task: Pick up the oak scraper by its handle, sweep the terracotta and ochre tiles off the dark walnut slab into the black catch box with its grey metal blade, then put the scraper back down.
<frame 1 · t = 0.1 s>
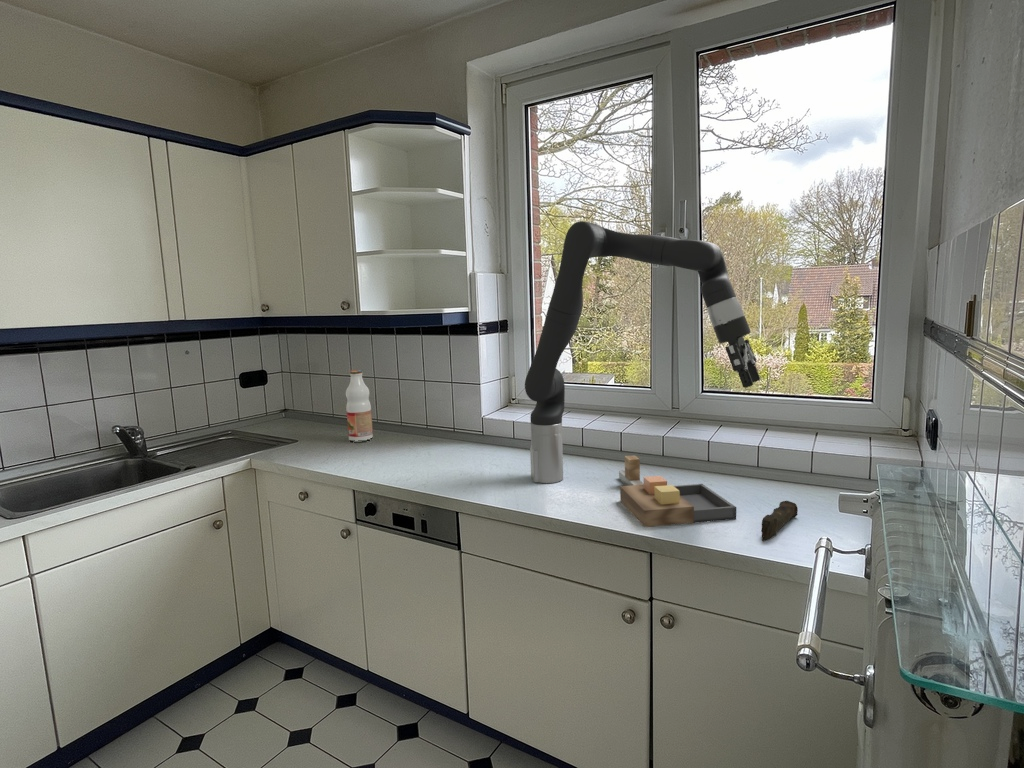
hand: (752, 384, 138), 31 cm above the worktop, tool tilted 20°, fingers open, 8 cm apart
ochre tile: (666, 494, 139), point 5 cm above the worktop, touching walnut slab
catch box: (698, 507, 145), on the worktop
oak scraper: (632, 486, 164), on the worktop
terracotta tile: (655, 484, 147), point 5 cm above the worktop, touching walnut slab
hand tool: (779, 530, 131), on the worktop
walnut slab: (655, 511, 144), on the worktop
fruit juice: (361, 440, 231), on the worktop
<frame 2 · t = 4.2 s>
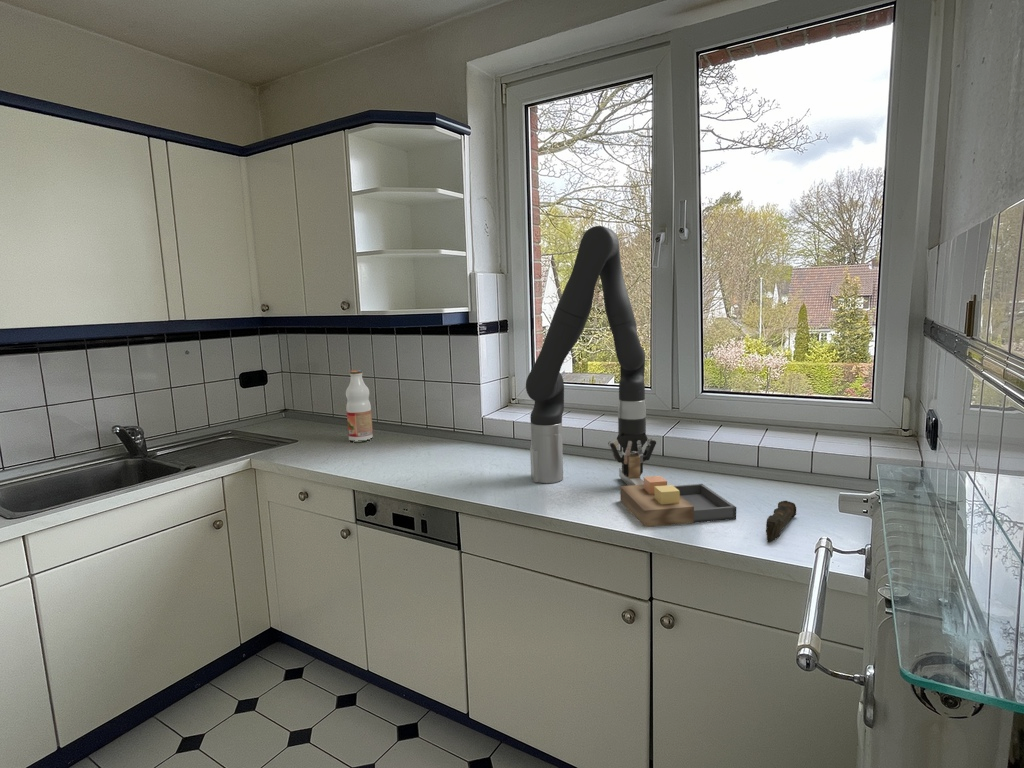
hand: (632, 475, 163), 3 cm above the worktop, tool pointing down, fingers closed on oak scraper, 3 cm apart
oak scraper: (632, 484, 163), on the worktop, touching gripper
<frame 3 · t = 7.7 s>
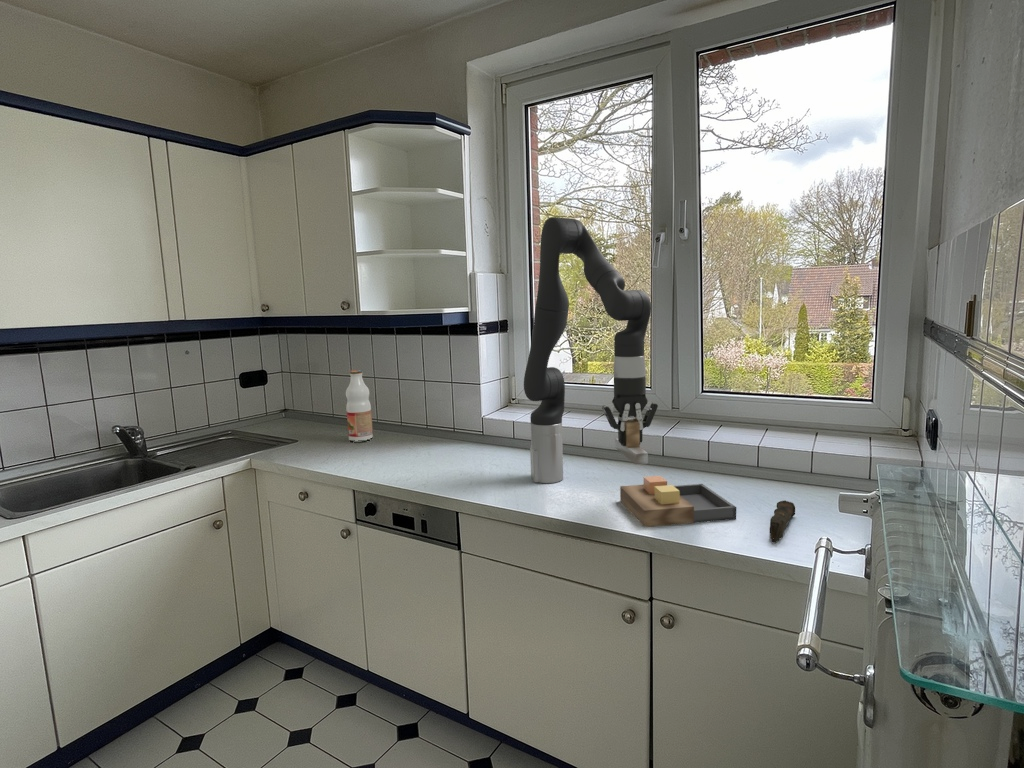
hand: (630, 444, 141), 17 cm above the worktop, tool pointing down, fingers closed on oak scraper, 3 cm apart
oak scraper: (630, 455, 141), point 15 cm above the worktop, touching gripper
everything else where it was.
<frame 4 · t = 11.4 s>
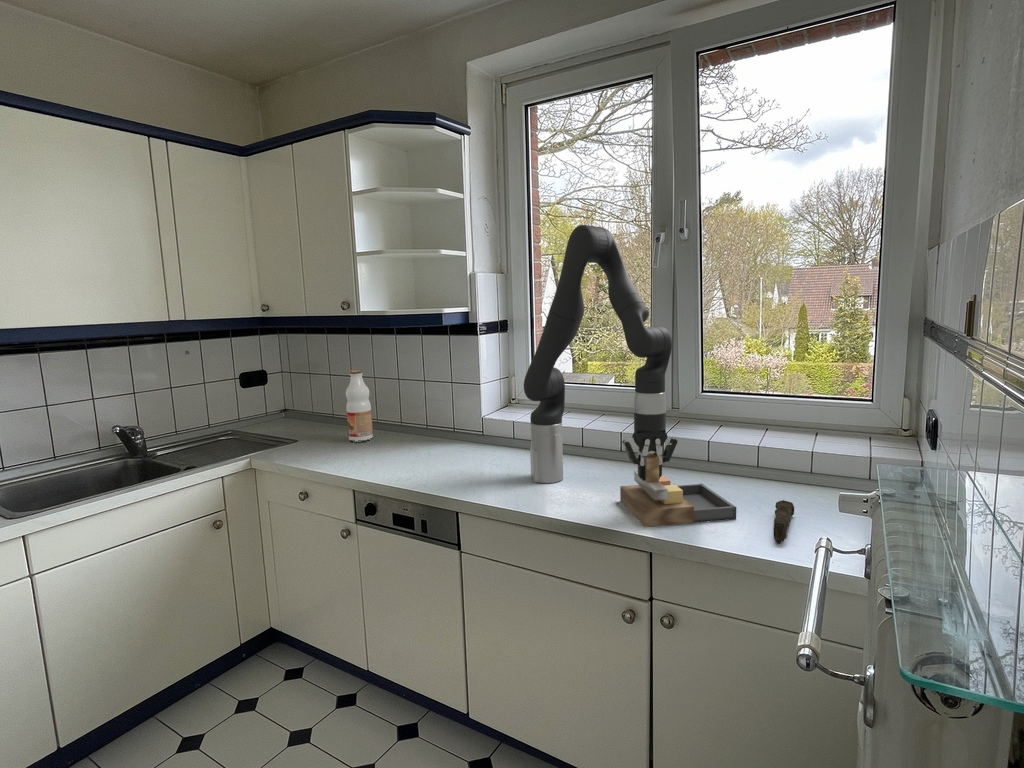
hand: (649, 478, 142), 9 cm above the worktop, tool pointing down, fingers closed on oak scraper, 3 cm apart
oak scraper: (650, 489, 142), point 6 cm above the worktop, touching gripper, terracotta tile
terracotta tile: (658, 484, 147), point 6 cm above the worktop, touching oak scraper, walnut slab
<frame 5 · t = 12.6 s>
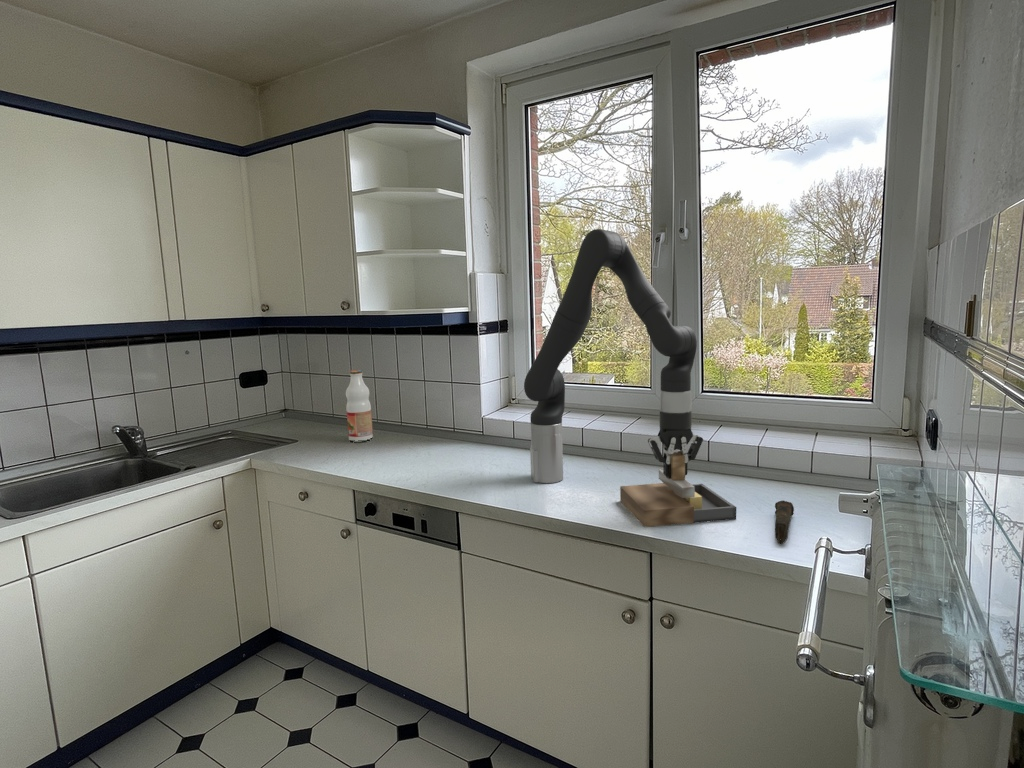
hand: (675, 476, 143), 8 cm above the worktop, tool pointing down, fingers closed on oak scraper, 3 cm apart
ochre tile: (692, 503, 141), point 3 cm above the worktop, tilted 90°, touching catch box
oak scraper: (675, 487, 143), point 6 cm above the worktop, touching gripper
terracotta tile: (679, 492, 148), point 3 cm above the worktop, tilted 90°, touching catch box
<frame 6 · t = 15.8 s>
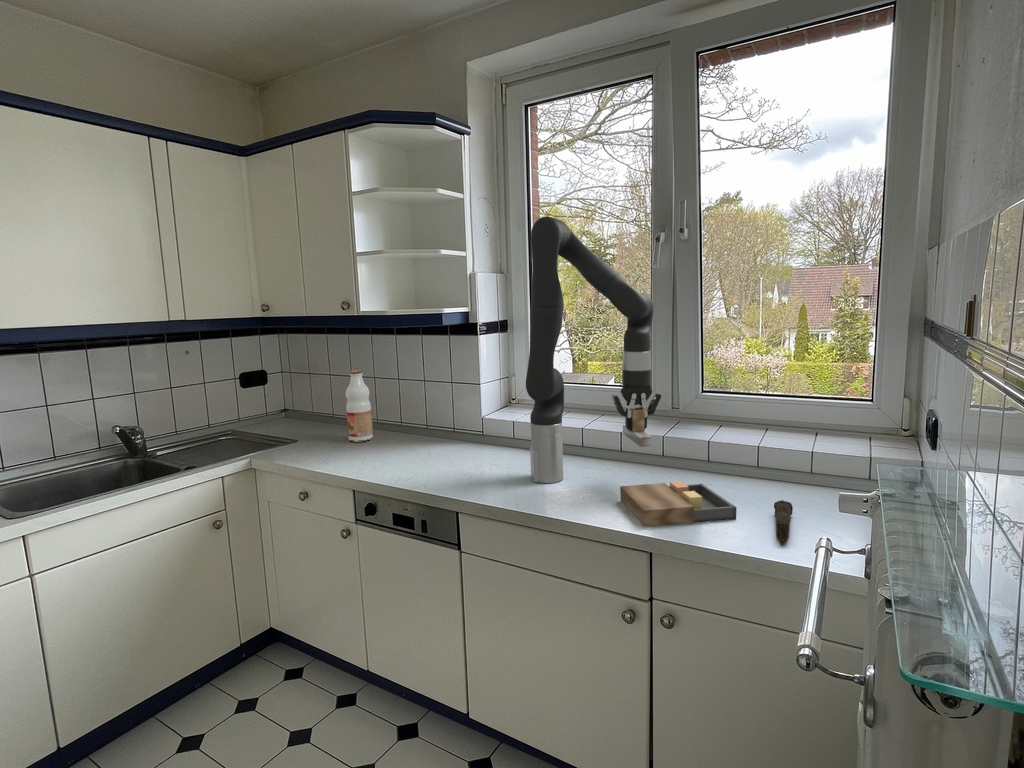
hand: (635, 429, 159), 17 cm above the worktop, tool pointing down, fingers closed on oak scraper, 3 cm apart
oak scraper: (636, 439, 159), point 14 cm above the worktop, touching gripper
when the fingers open (4 cm above the worktop, at t = 18.9 s): oak scraper drops 2 cm, on the worktop.
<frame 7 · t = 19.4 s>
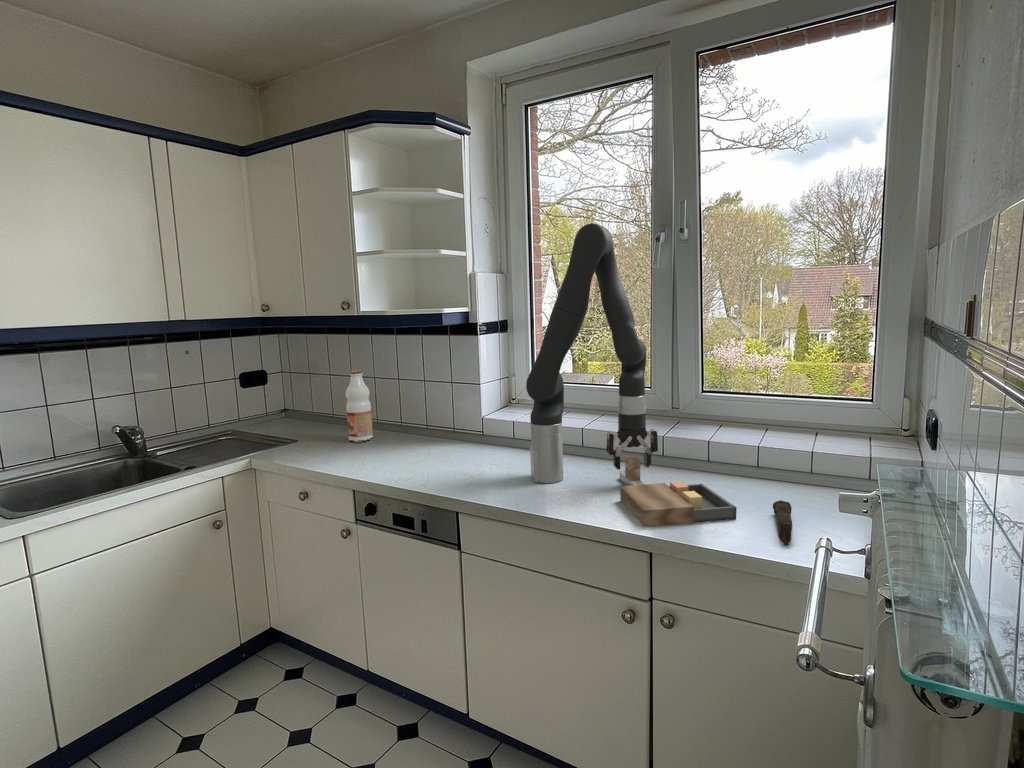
hand: (632, 467, 163), 5 cm above the worktop, tool pointing down, fingers open, 8 cm apart
oak scraper: (632, 487, 163), on the worktop
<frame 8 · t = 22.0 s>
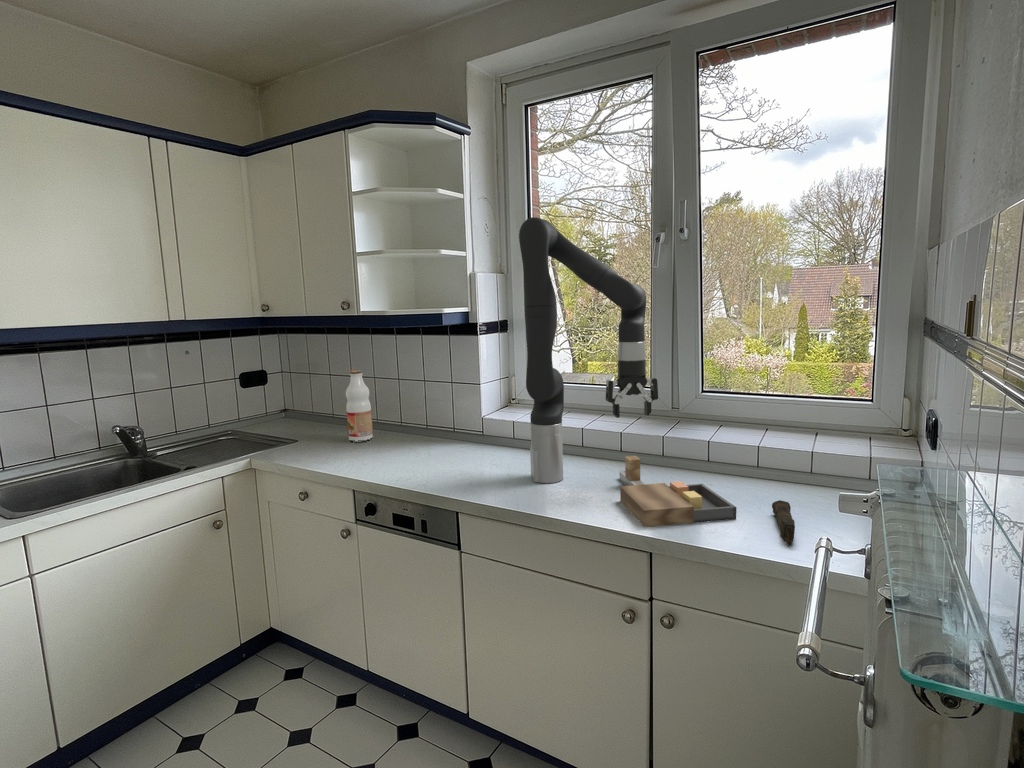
hand: (631, 416, 161), 20 cm above the worktop, tool pointing down, fingers open, 8 cm apart
at the end: terracotta tile inside the target area (5.0 cm from its centre), point 2.8 cm above the worktop; ochre tile inside the target area (5.0 cm from its centre), point 2.8 cm above the worktop; the gripper is holding nothing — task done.
